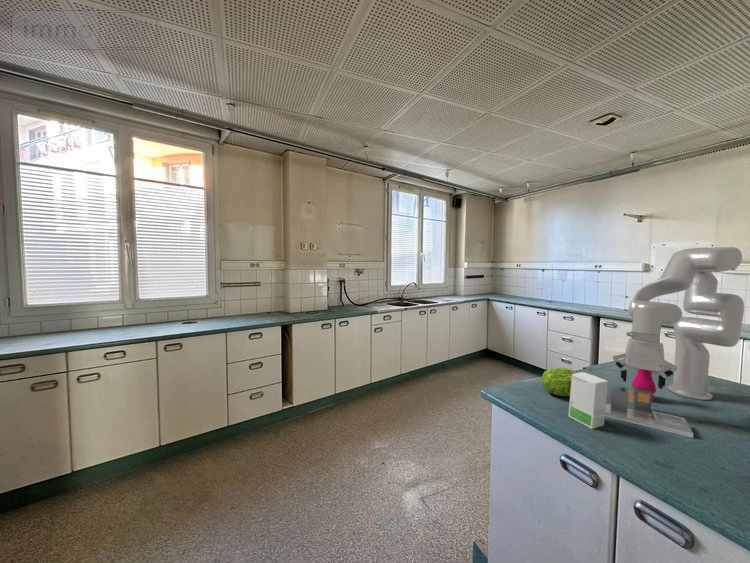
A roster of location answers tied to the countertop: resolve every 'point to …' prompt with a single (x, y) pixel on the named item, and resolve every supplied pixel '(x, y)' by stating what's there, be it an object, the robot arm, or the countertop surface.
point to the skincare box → (588, 399)
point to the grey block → (642, 399)
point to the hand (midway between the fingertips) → (641, 384)
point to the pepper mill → (644, 381)
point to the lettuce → (558, 381)
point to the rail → (643, 414)
